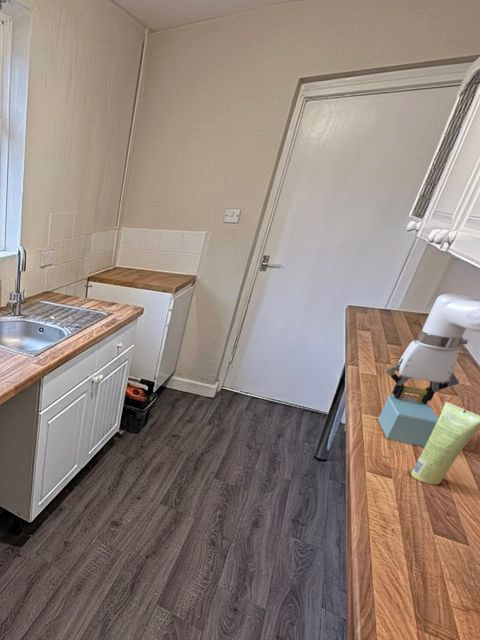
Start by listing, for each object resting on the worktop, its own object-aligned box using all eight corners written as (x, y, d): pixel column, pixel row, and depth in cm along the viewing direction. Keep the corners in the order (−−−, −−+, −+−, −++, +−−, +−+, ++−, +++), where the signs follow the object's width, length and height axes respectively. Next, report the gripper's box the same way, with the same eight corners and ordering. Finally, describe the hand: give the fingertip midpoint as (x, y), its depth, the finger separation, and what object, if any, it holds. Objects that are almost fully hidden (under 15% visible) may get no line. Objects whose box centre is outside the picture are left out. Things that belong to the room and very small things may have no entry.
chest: (377, 420, 126) (387, 398, 123) (414, 428, 122) (425, 405, 119) (386, 439, 116) (397, 416, 113) (427, 449, 112) (439, 425, 109)
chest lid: (387, 397, 123) (394, 382, 121) (425, 404, 119) (433, 389, 117) (397, 416, 113) (405, 399, 111) (439, 424, 109) (448, 408, 107)
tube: (442, 480, 99) (483, 409, 91) (443, 490, 96) (486, 417, 88) (409, 470, 103) (446, 401, 95) (409, 479, 100) (447, 408, 92)
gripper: (478, 342, 110) (447, 402, 118) (392, 331, 119) (368, 387, 127) (489, 350, 105) (455, 412, 112) (398, 338, 114) (372, 396, 121)
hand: (409, 398), depth 119 cm, fingers closed on chest lid, 5 cm apart
